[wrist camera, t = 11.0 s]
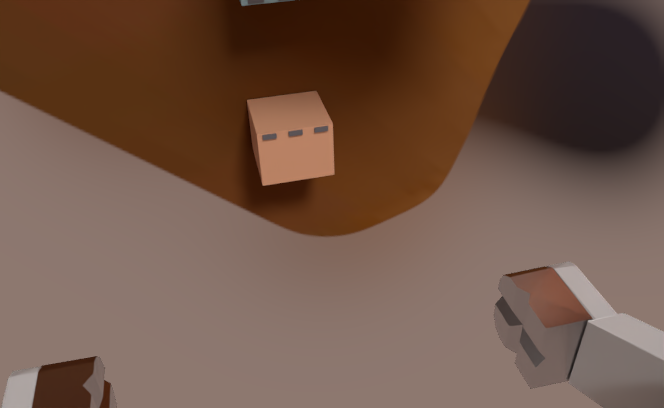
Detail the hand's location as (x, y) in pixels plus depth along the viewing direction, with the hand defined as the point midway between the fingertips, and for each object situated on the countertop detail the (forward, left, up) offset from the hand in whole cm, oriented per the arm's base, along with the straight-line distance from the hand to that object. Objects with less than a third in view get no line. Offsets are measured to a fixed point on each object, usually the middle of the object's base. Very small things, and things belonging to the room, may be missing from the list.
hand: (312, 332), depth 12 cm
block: (+4, -12, -31) cm, 34 cm away
